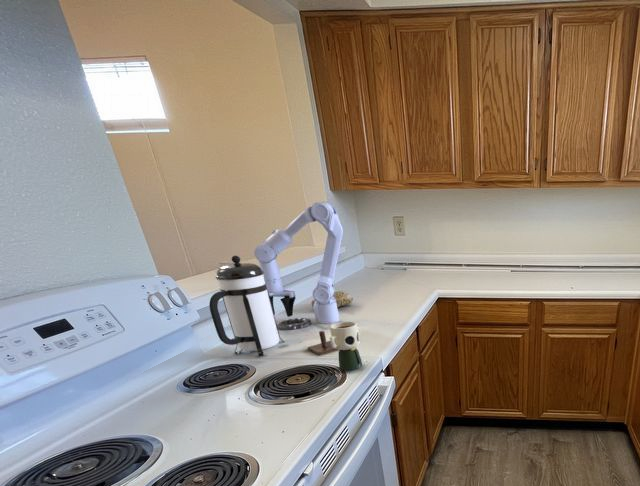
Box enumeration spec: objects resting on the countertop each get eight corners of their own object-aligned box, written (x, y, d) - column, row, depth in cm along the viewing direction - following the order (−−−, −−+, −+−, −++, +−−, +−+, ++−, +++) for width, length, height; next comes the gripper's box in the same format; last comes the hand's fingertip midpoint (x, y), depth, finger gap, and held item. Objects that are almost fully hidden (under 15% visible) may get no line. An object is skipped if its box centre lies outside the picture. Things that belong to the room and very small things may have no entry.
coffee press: (234, 346, 139) (206, 255, 127) (287, 339, 145) (264, 250, 133) (226, 364, 125) (193, 262, 113) (285, 355, 130) (259, 257, 118)
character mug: (348, 377, 114) (339, 332, 108) (328, 373, 116) (318, 329, 111) (373, 363, 123) (366, 320, 117) (354, 360, 125) (346, 318, 120)
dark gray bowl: (272, 329, 156) (270, 322, 155) (303, 322, 164) (302, 315, 163) (286, 335, 149) (284, 328, 148) (318, 327, 157) (316, 320, 156)
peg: (307, 350, 135) (303, 332, 132) (330, 343, 140) (327, 326, 138) (319, 355, 130) (315, 337, 127) (342, 348, 135) (339, 330, 133)
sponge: (339, 305, 193) (299, 306, 176) (341, 289, 190) (301, 288, 173) (358, 314, 187) (318, 316, 170) (360, 297, 184) (320, 297, 168)
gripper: (246, 281, 148) (256, 318, 153) (282, 281, 145) (291, 319, 151) (260, 277, 154) (270, 312, 160) (295, 277, 151) (303, 314, 157)
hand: (281, 315), depth 156 cm, fingers open, 7 cm apart
